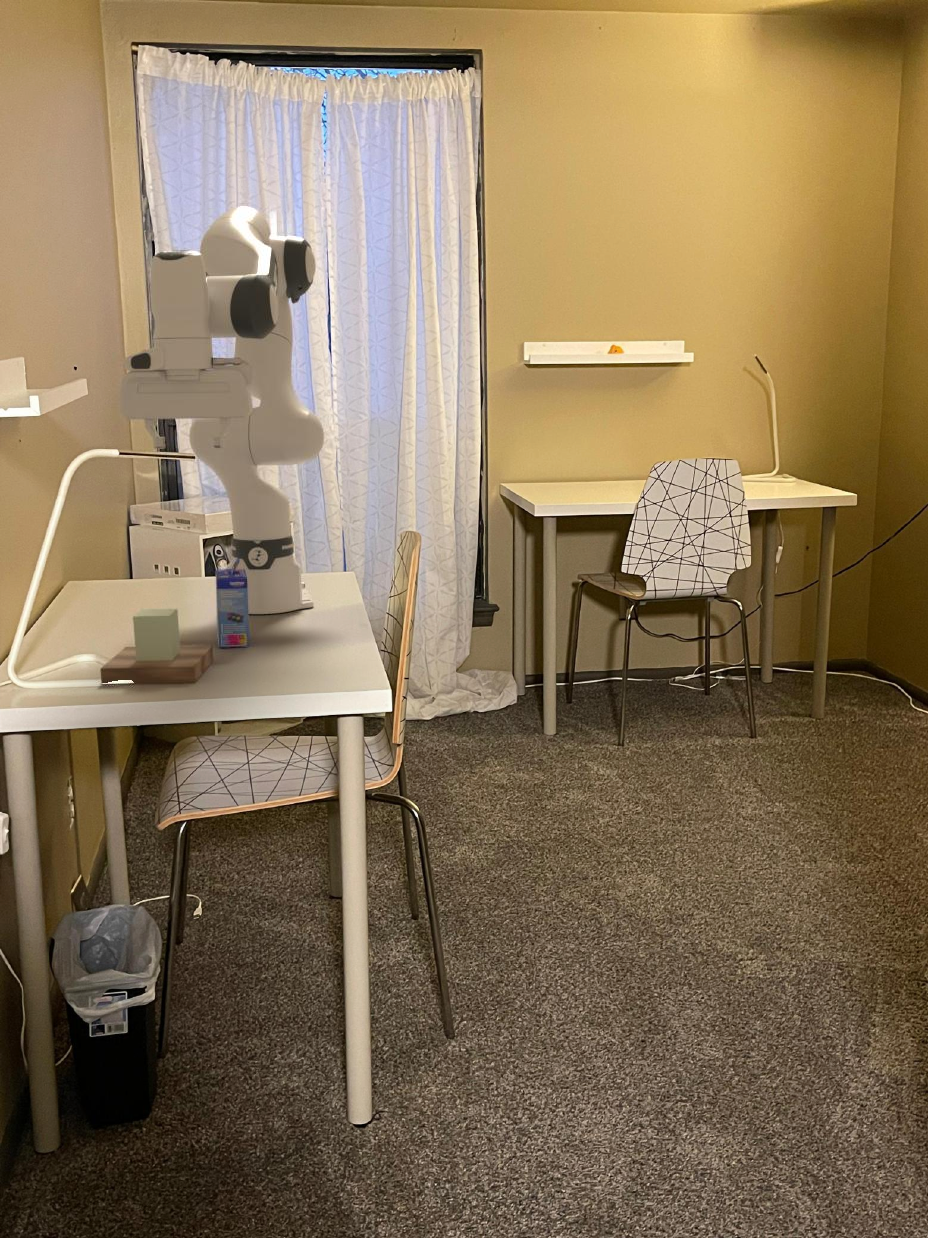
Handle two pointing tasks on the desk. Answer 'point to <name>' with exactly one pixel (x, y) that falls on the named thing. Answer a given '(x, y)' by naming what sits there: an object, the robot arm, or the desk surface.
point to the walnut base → (159, 666)
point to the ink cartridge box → (232, 607)
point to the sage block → (156, 634)
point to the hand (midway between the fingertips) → (189, 448)
